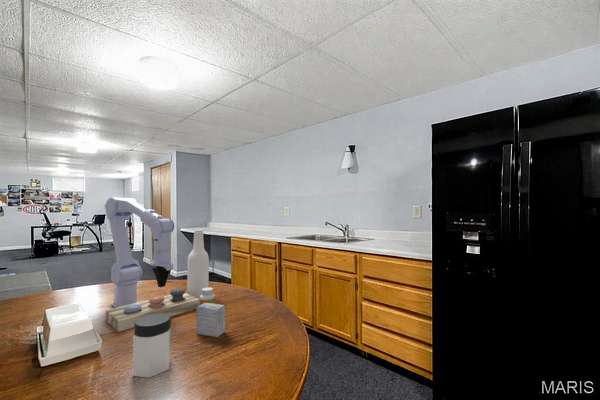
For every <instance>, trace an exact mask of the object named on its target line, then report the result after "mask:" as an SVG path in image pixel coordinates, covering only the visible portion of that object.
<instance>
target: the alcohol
mask: <svg viewBox="0 0 600 400" xmlns="http://www.w3.org/2000/svg"><path fill="white" fill-rule="evenodd" d="M204 241H205V240H204V229H200V228H198V229H197V228H196V229H194V230H193V243H192V250H191V251H190V253H189V254H188V256H187V276H186V277H187V278H186V279H187V285H186V288H187V290H186V293H187V294H189V295H191V296H194V297H196V298H199V299H200V296H201V295H202V289H203V288H207V287H209V272H210V271H209V270H210V268H209V266H210V265H209V262H210V259H209V254H208V252H207V251H206V249H205V244H204V243H205V242H204Z"/></svg>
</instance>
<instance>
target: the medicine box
mask: <svg viewBox="0 0 600 400" xmlns="http://www.w3.org/2000/svg"><path fill="white" fill-rule="evenodd" d="M225 332H226V305H225V304H220V303H219V304H218V303H215V304H212V303H204V304H202V305H200V306H198V307H197V309H196V334H197V335H201V336H202V335H203V336H206V337H207V336H208V337H213V338H218V337H219V338H220V336H221V335H223V334H224V333H225Z"/></svg>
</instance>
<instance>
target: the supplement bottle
mask: <svg viewBox="0 0 600 400" xmlns="http://www.w3.org/2000/svg"><path fill="white" fill-rule="evenodd" d="M204 303H212V304H216V295H215V294H214V288H213V287H211V286H210V287H209V286H208V287H207V288H203V289H202V295H201V296H200V305H202V304H204Z"/></svg>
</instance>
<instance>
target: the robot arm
mask: <svg viewBox="0 0 600 400" xmlns="http://www.w3.org/2000/svg"><path fill="white" fill-rule="evenodd" d="M104 210H105V213H106V218H107V219H106V220H109V227H110V232H111V236H112V242H113V247H114V252H115V259H116V262H114V264H113V265H112V266H111V267H110V272H111V273H110V280H111V282H112V283H113V284H114V285H115V286H114V287H113V302H111V303H110V305H111V306H113V308H117V307H121V306H125V305H129V304H134V303H138V302H139V301H138V299H137V298H138V283H139V281H140V279H141V278H142V276H143V269H142V267H141V265H140V262H139V260H137V259H135V258H133V257H132V256H133V255H132V251H131V247H130V242H129V236H128V231H127V227H126V220H128V219H129V218H131V216H132V215H133V214H134V215H135V216H137V217H138V218H139V220H140V222H141V223H143V224H144V225H145V226H147V227H148V228H150V232H151V234H152V239H153V259H152V260H151V262H150V263H149V265H150V266H151V267H153V268H152V272H153V273H154V276H155V279H156V284H157V287H159V288H162V287H166V284H167V282H168V281H167V280H168V277H169V276H170V275H169V274H170V273H171V271H172V270H174V264H173V263H172V261H171V245H172V244H171V242H172V241H171V238H172V237H171V236H172V235H171V234H172V233H173V231H174V230H175V222H174V221H173V220H172V219H171V217H170V218H169V217H167V218H166V217H165V218H164V217H163V215H161V214H158V213H157V212H156V210H155V209H146V208H144V207H143V206H142V205H141V204H139V203H138V200H137V199H135V198H133V197H109V198H108V199H107V200H106V202H105V205H104ZM154 266H155V267H154Z"/></svg>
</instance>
